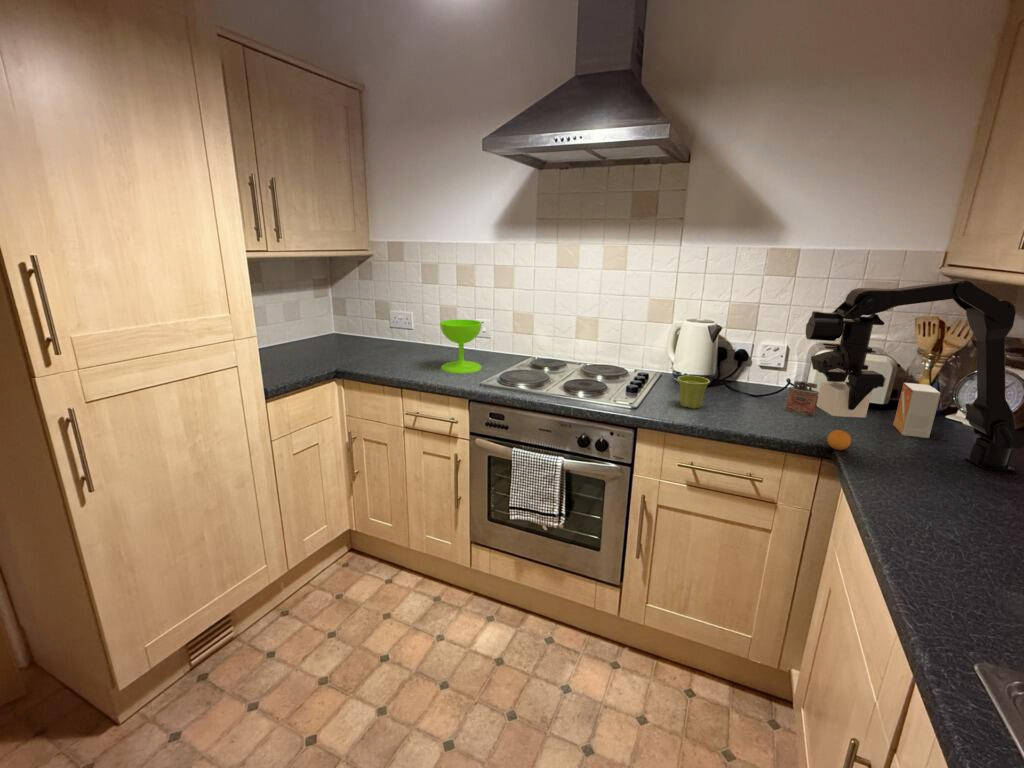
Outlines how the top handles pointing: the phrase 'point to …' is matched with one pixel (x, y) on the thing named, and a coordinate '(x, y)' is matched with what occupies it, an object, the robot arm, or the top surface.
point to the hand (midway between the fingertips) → (841, 404)
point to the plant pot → (692, 390)
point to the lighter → (802, 398)
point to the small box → (916, 410)
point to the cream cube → (840, 400)
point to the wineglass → (461, 343)
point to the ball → (839, 439)
